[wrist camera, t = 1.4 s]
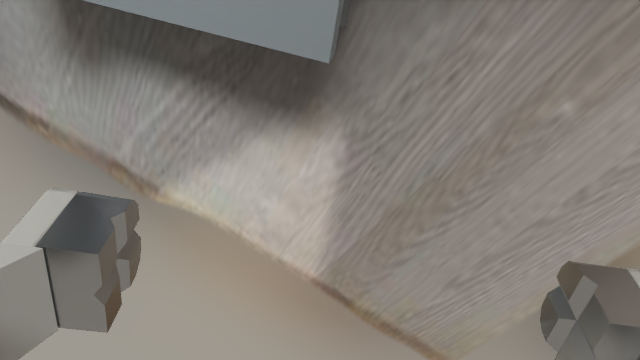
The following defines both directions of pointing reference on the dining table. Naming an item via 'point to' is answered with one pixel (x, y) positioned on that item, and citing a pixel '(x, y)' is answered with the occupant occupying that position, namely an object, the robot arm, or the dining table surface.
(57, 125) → the dining table surface
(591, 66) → the dining table surface
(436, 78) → the dining table surface
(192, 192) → the dining table surface
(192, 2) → the tilted grey plate
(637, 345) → the robot arm
